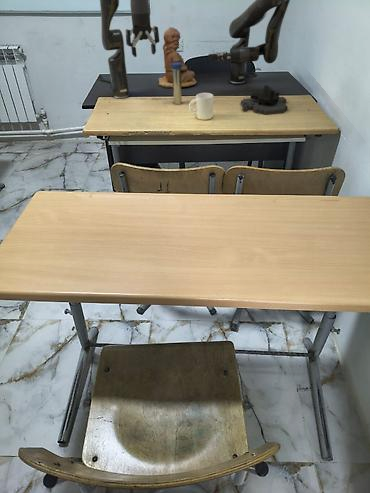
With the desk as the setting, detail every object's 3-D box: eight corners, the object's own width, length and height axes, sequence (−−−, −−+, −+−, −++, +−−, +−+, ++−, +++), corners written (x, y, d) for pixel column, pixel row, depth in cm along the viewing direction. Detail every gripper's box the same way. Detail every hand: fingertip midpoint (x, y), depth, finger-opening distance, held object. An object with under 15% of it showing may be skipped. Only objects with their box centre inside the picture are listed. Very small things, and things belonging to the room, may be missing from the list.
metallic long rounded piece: (174, 104, 193) (173, 65, 180) (173, 102, 196) (171, 63, 184) (182, 103, 194) (181, 65, 181) (180, 101, 197) (179, 63, 184)
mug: (190, 121, 174) (189, 99, 167) (187, 115, 180) (187, 93, 173) (214, 119, 175) (214, 97, 168) (211, 113, 181) (211, 92, 174)
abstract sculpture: (249, 96, 171) (238, 84, 186) (248, 115, 177) (236, 102, 192) (299, 92, 174) (283, 80, 189) (296, 111, 180) (281, 98, 195)
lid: (172, 69, 181) (172, 65, 180) (170, 67, 185) (170, 62, 184) (182, 68, 182) (182, 64, 181) (180, 66, 186) (179, 61, 185)
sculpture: (197, 88, 213) (196, 30, 194) (156, 89, 214) (152, 31, 194) (196, 75, 234) (196, 22, 215) (159, 76, 235) (156, 23, 215)
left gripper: (152, 8, 151) (156, 51, 161) (120, 12, 146) (126, 55, 157) (159, 10, 146) (162, 55, 156) (126, 14, 141) (131, 59, 152)
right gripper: (236, 45, 195) (207, 48, 195) (242, 48, 183) (210, 50, 183) (236, 61, 199) (207, 63, 199) (241, 64, 188) (211, 67, 187)
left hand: (144, 55), depth 157 cm, fingers open, 8 cm apart
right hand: (209, 57), depth 191 cm, fingers open, 8 cm apart
